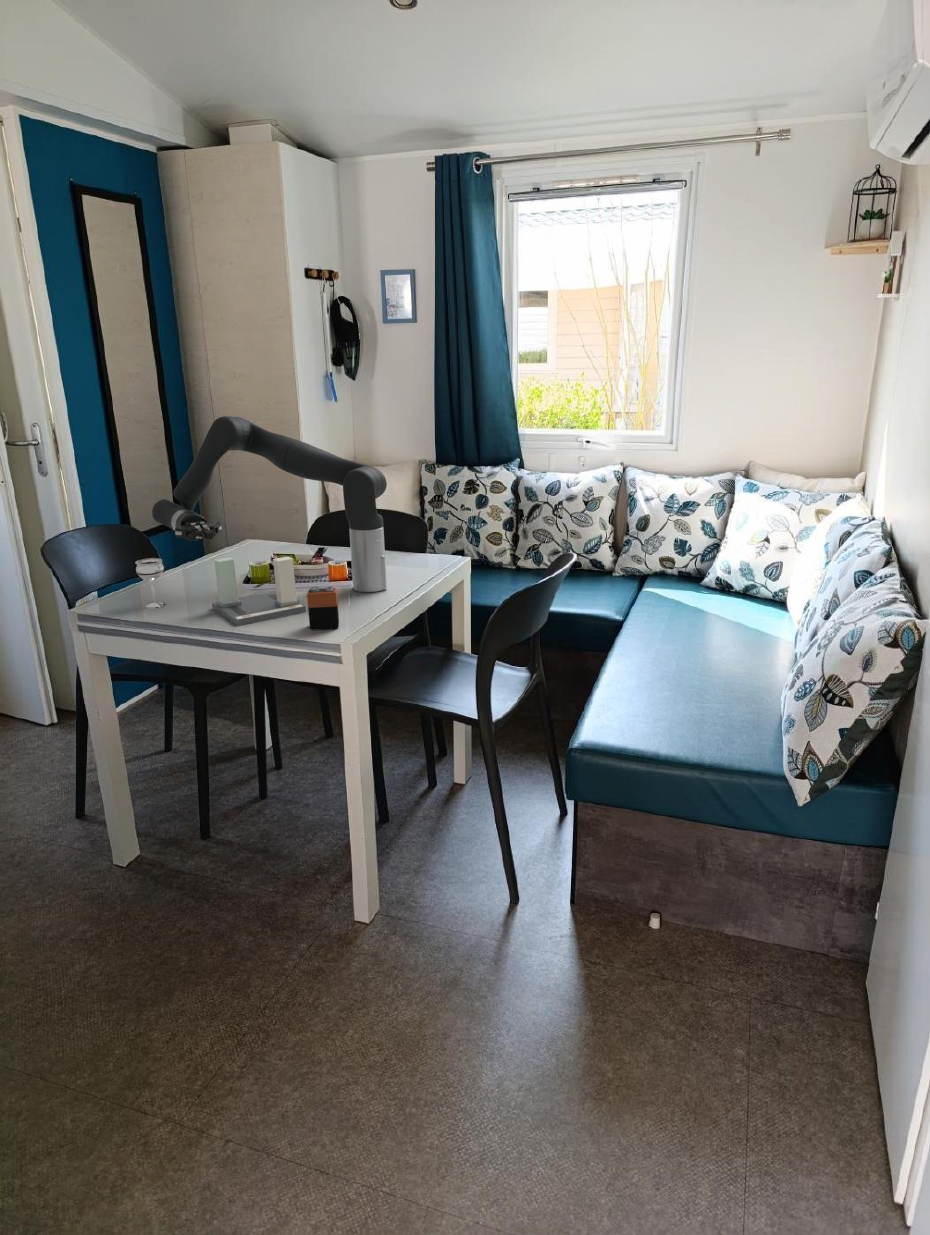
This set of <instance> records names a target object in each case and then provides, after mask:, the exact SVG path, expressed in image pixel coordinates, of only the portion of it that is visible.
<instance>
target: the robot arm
mask: <svg viewBox="0 0 930 1235" xmlns="http://www.w3.org/2000/svg"><path fill="white" fill-rule="evenodd" d="M228 451H241V452H242V451H243V452H247V453H251V454H254V455H258V456H260V457H263V458H265V459H267V461H269V462H270V463H271V464H273V465H274V466H276V467H277V469H280V470H282V471H284V472H286V473H289V474H291V475H293V476H295V477H299V478H303V479H307V480H312V481H318V482H326V483H332V484H336V485H339V486H342V491H343V492H342V493H343V494H342V496H343V503H344V504H343V506H344V512H345V517H346V519H347V521H348V528H349V531H348V532H349V542H350V543H349V544H350V558H351V559H350V560H351V561H350V562H351V574H352V575H351V577H352V578H351V579H352V589H353V590H354V591H356V592H360V593H374V592H380V591H387V588H388V587H387V568H386V566H387V565H386V551H385V549H386V548H385V535H384V534H385V532H384V518H383V516H382V515H381V514H379V513H378V510H377V502H376V500H377V499H378V498H380V497H381V496H382V495H383V494H384V493H385V492H386V490H387V486H388V484H387V479H386V476H385V474H384V473H383V472H382V471H381V470H380V469H378V468H377V467H375V466H373V465H369V464H366V463H361V462H358V461H353V460H349V459H346V458H343V457H341V456H340V457H339V456H338V455H336V454H334V453H331V452H329V451H327V450H324V449H321V448H319V447H316V446H314V445H312V444H309V443H306V442H305V441H301V440H299V439H296V438H292V437H290V436H286V435H283V434H279V433H275V432H272V431H269V430H267V429H265V428H263V427H261V426H259V425H258V424H255V423H254V422H251V421H250V420H247V419H245V418H243V417H239V416H229V415H227V416H226V415H225V416H220V417H218V418H216V419H214V421H213V422H212V424H211V425H210V428H209V429H208V431H207V433H206V435H205V437H204V440H203V441H202V443H201V446H200V448H199V450H198V451H197V454H196V456H195V458H194V459H193V461H192V463H191V465H190V466H189V468H188V470H187V471H186V472H185V474H184V475H183V477H182V478H181V479H180V481H179V482H178V484H176V487H174V490H173V492H172V493H173V497H174V498H175V500H176V501H177V502H179V503H180V504H181V505H182V506H181V505H179V504H177V503H175V502H173V501H171V500H168V499H160V500H158V501H157V502H156V503H154V504H153V506H152V510H151V514H152V519H153V520H154V521H155V522H156V523H160V524H161V525H163V526H166V527H168V528H169V529H171V530H173V531H174V532H175V538H176V539H185V540H187V541H190V542H192V541H193V542H195V541H199V540H201V539H204V540H206V541H210V540H211V541H212V540H213V539H214V537H216V536H217V535H219V534H221V533H222V532H223V528H222V522H216V523H213V524H212V523H211V522H208V521H207V520H206V519H205V517H204V516H203V515H201V514H199V513H198V512H195V511H194V509H195V507H196V505H197V503H198V502H199V500H200V498H201V497H202V495H203V494H204V493H205V492H206V491H207V489H208V487H209V485H210V484H211V480H212V477H213V472H214V469H215V467H216V465H217V463H218V462H219V460H220V459H221V458H222V457H223V456H224V455H225V454H226V453H227V452H228Z"/></svg>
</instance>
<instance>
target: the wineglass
mask: <svg viewBox="0 0 930 1235" xmlns="http://www.w3.org/2000/svg"><path fill="white" fill-rule="evenodd" d="M135 564H136V568H135V571H136V572H135V573H136V574H137V575H138V577H139V578H141V579H142V580H143V581H147V582H148V583H150V587H151V593H152V599H153V602H152V603H149V605H148V604H147V605H148V607H159V608H161V607H160V606H162V605H163V603H164V602H156V593H155V582H156V580H158V579H160V578H161V576H162V575H163V574H164V570H165V567H164V565H163V559H162V558H158V557H150V558H143V559H138V560H136V561H135Z"/></svg>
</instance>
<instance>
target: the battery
mask: <svg viewBox="0 0 930 1235" xmlns="http://www.w3.org/2000/svg"><path fill="white" fill-rule="evenodd" d="M306 598H307V609H308V611H307V612H308V622H309V630H311V629H322V630H332V629H331V628H337V629H339V627H340V626H339V625H340V617H339V615H340V614H339V601H338V600H339V599H338V589H337V588H336V587H333V586H332V585H330V586H329V585H328V586H325V587H324V588H320V586H316V585H313V586H310V589H308V590H307V594H306Z"/></svg>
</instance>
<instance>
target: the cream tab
mask: <svg viewBox="0 0 930 1235" xmlns="http://www.w3.org/2000/svg"><path fill="white" fill-rule="evenodd" d="M272 561H273V570H274V572H273V573H274V581H275V591H276V594H277V600H276V601H275V604H276V605H278V606H279V607H286V606H291V605H296V604H299V603H300V600H298V598H297V591H296V590H297V588H296V580H295V579H296V578H295V569H294V568H295V567H294V558H292V557H289V556H284V557H278V558H273V559H272Z"/></svg>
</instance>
